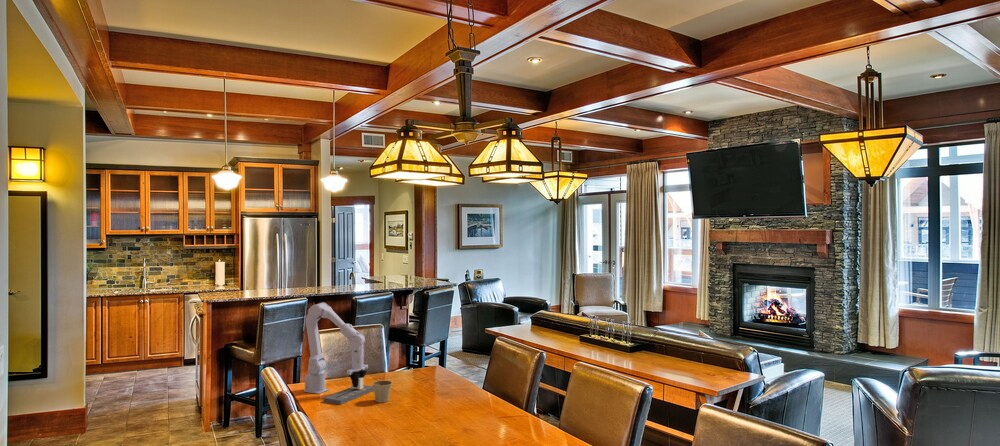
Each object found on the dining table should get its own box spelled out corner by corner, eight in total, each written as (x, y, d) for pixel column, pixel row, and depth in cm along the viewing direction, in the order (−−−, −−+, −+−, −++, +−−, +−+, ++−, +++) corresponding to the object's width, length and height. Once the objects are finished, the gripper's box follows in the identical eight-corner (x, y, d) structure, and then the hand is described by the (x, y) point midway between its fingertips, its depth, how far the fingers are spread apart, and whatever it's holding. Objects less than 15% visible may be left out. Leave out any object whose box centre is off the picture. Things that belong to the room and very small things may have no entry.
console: (323, 402, 270) (323, 397, 270) (358, 388, 294) (358, 384, 294) (340, 404, 266) (340, 400, 266) (374, 390, 290) (374, 386, 290)
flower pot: (394, 398, 276) (394, 380, 277) (389, 404, 267) (389, 385, 267) (375, 397, 277) (375, 379, 277) (369, 403, 268) (369, 385, 268)
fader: (351, 388, 285) (351, 378, 285) (355, 386, 288) (355, 376, 288) (359, 389, 283) (359, 379, 283) (363, 387, 286) (363, 377, 286)
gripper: (355, 362, 277) (354, 390, 277) (373, 356, 290) (372, 383, 290) (343, 361, 280) (343, 389, 280) (361, 355, 293) (361, 381, 293)
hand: (357, 386), depth 285 cm, fingers closed on fader, 3 cm apart
